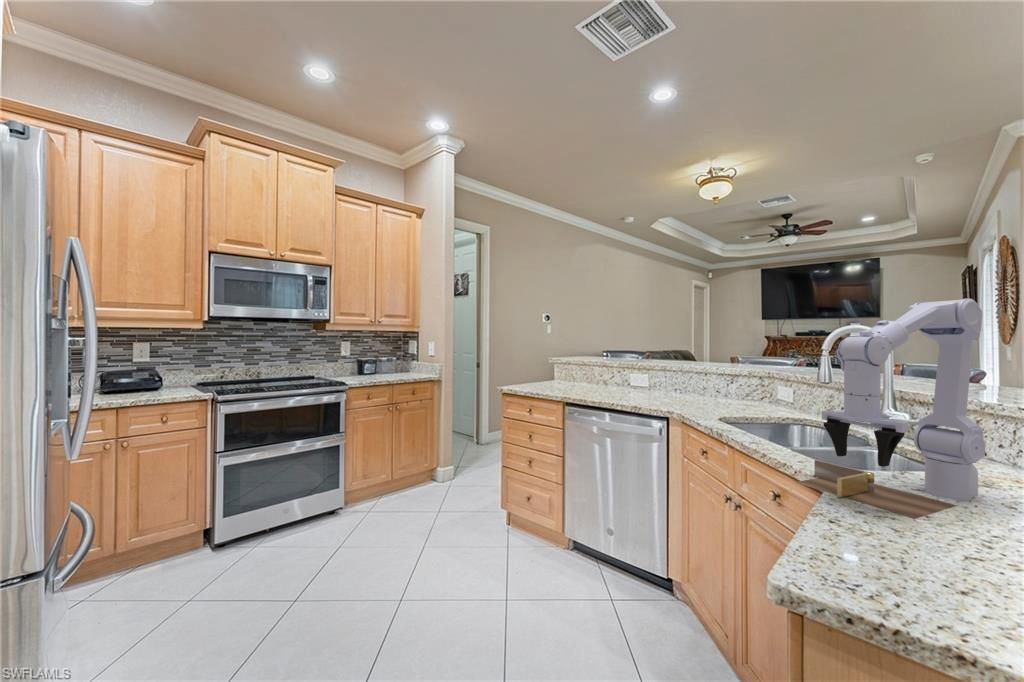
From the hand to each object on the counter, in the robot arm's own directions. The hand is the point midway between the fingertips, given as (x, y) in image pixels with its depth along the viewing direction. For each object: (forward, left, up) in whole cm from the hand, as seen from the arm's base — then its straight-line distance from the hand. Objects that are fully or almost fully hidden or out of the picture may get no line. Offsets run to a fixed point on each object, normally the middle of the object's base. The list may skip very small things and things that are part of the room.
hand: (861, 460), depth 85 cm
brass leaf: (-6, -4, -9) cm, 11 cm away
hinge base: (-10, -4, -10) cm, 14 cm away
